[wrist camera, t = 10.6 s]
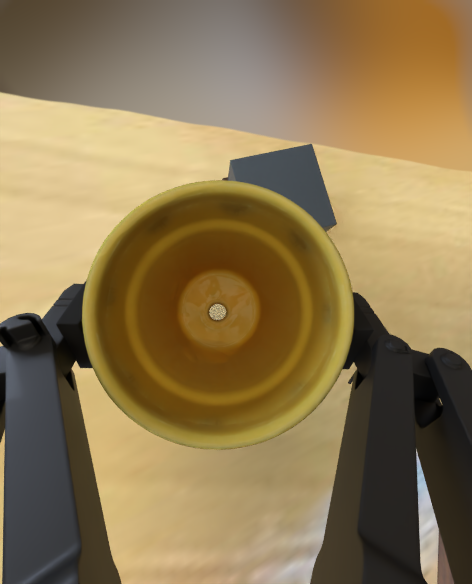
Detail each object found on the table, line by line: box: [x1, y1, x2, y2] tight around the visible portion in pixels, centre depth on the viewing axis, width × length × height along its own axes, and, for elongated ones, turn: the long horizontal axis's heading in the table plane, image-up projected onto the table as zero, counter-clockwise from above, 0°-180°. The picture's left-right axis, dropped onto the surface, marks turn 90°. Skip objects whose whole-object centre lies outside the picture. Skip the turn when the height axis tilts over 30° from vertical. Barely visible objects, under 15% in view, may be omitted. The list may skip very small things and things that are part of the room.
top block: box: [228, 144, 337, 232], centre depth 27 cm, size 9×9×4 cm
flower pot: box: [82, 180, 354, 450], centre depth 14 cm, size 10×10×10 cm
